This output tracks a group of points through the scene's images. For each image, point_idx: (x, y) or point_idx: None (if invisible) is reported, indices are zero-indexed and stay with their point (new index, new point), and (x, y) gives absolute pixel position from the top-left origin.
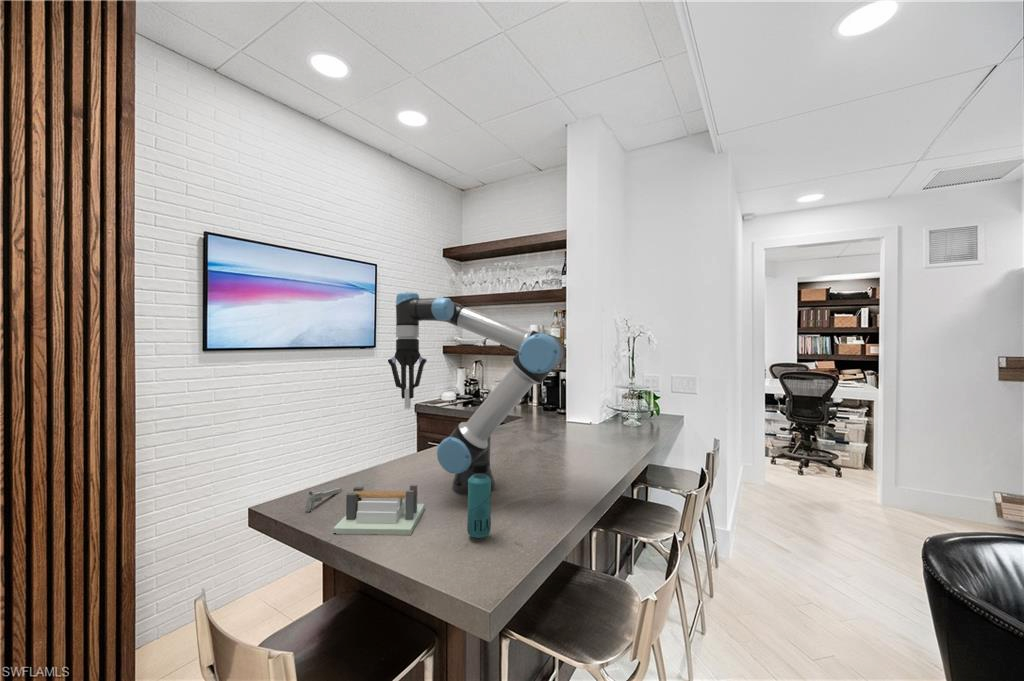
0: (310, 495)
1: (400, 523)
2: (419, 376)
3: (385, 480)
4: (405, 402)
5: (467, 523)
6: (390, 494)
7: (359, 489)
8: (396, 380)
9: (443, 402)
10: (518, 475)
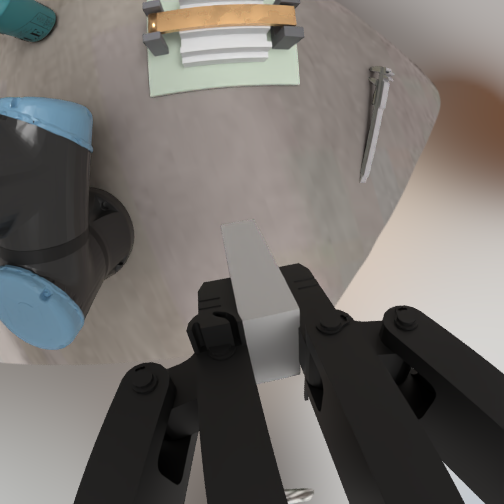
0: (386, 69)
1: (172, 6)
2: (85, 498)
3: (296, 245)
4: (255, 238)
5: (49, 12)
6: (201, 7)
7: (288, 26)
8: (454, 359)
9: (296, 496)
10: None
